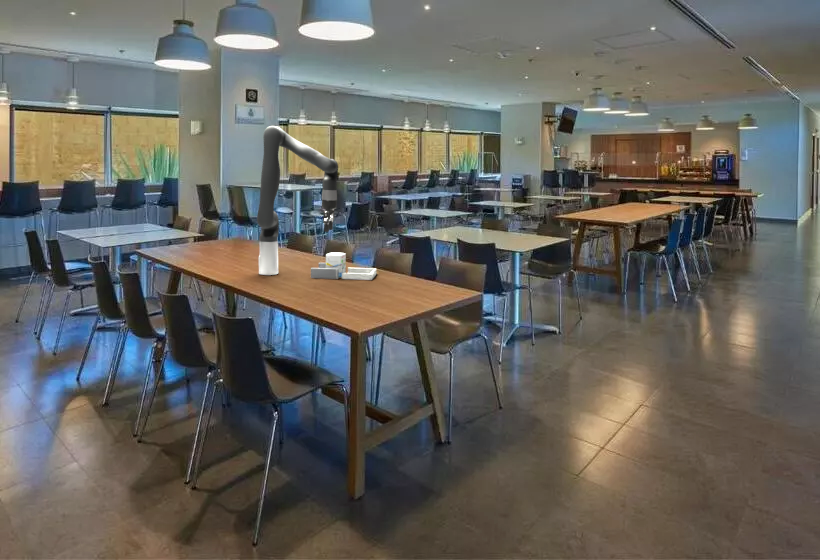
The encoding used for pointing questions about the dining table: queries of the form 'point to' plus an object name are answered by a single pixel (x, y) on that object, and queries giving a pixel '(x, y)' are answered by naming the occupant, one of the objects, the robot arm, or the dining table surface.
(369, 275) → the tray frame
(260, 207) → the robot arm
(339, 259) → the ink box
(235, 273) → the dining table surface
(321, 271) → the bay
